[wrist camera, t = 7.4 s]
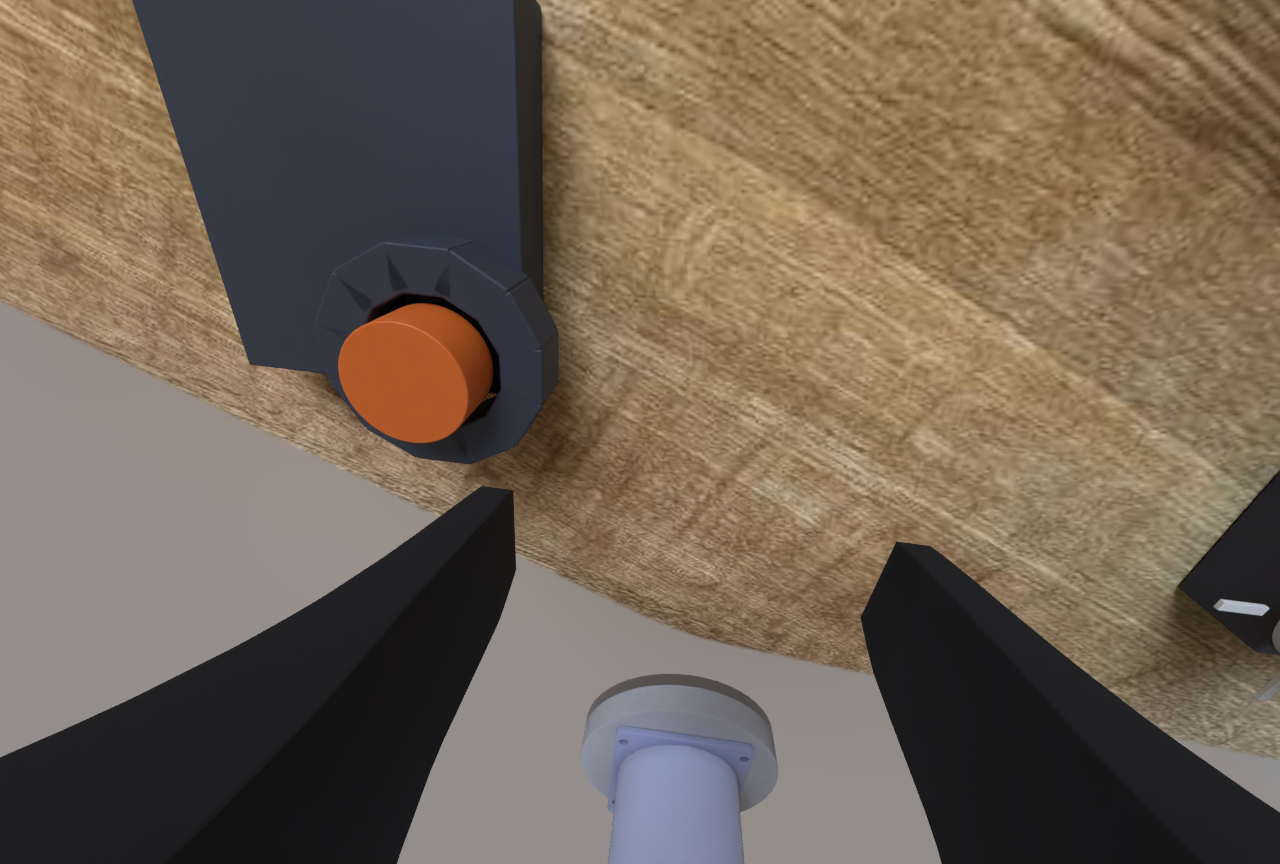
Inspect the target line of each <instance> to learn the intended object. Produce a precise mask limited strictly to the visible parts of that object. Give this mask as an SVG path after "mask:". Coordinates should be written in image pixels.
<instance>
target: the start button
mask: <svg viewBox="0 0 1280 864" xmlns="http://www.w3.org/2000/svg"><path fill="white" fill-rule="evenodd" d="M338 370H339V377H340V381H341V384H342V387H343V390H344V392H345V394H346V396H347V398H348V400H349V401H350V403H351V404H352V406H353V407H354V409H355V410H356V411H357V412H358V413H359V414H360V415H361V416H362V417H363V418H364V419H365V420H366V421H367V422H368V423H369V424H371V425H372V426H373V427H375V428H376V429H378V430H379V431H381V432H383V433H384V434H386V435H388V436H391V437H393V438H396V439H399V440H402V441H406V442H411V443H430V442H435V441H438V440H442V439H444V438H446V437H448V436H450V435H451V434H452V433H454V432H455V431H456V430H457V429H458V428H459V427H460V426H461V425H462V424H463V422H464V421H465V420H466V419H467V418H468V417H469V416H470V415H471V414H472V412H473V411H474V410H475V409H476V408H477V407H478V406H479V405H480V404H481V402H482V401H483V400H484V399H485V398H486V396H487V395H488V393H489V391H490V388H491V385H492V381H493V363H492V358H491V355H490V352H489V349H488V347H487V345H486V343H485V341H484V339H483V338H482V336H481V335H480V334H479V332H478V331H477V330H476V329H475V328H474V327H473V326H472V325H471V324H470V323H469V322H468V321H467V320H466V319H464V318H463V317H462V316H460V315H459V314H457V313H455V312H454V311H452V310H449V309H447V308H445V307H442V306H438V305H434V304H429V303H416V304H410V305H406V306H404V307H401V308H399V309H397V310H395V311H392V312H390V313H388V314H386V315H384V316H382V317H379V318H377V319H375V320H373V321H371V322H369V323H367V324H364V325H362V326H360V327H359V328H357V329H356V330H354V331H353V332H352V333H351V334H350V335H349V336H348V338H347V339H346V340H345V342H344V344H343V346H342V348H341V351H340V355H339V362H338Z"/></svg>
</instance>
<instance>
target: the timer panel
mask: <svg viewBox="0 0 1280 864" xmlns="http://www.w3.org/2000/svg"><path fill="white" fill-rule="evenodd" d="M1179 588H1180V589H1181V590H1182V591H1184V592H1185V593H1186V594H1187V595H1188V596H1190V597H1191V598H1192V599H1193V600H1194V601H1196V602H1197V603H1198V604H1199V605H1200V606H1201V607H1203V608H1204V609H1205V610H1206V611H1207V612H1209V613H1210V614H1211V615H1212V616H1213V617H1215V618H1216V619H1217V620H1218V621H1219V622H1221V623H1222V624H1223V625H1224V626H1225V627H1227V628H1228V629H1229V630H1230V631H1231V632H1233V633H1234V634H1235V635H1236V636H1237V637H1238V638H1240V639H1241V640H1242V641H1243V642H1244V643H1246V644H1247V645H1248V646H1249V647H1250V648H1252V649H1253V650H1254V651H1256V652H1258V653H1265V654H1273V655H1280V653H1279V652H1278V651H1277V650H1276V648H1275V646H1274V644H1273V641H1272V634H1273V631H1274V628H1275V627H1276V625H1277V623H1278V622H1279V620H1280V473H1279V474H1278V475H1277V476H1276V477H1275V478H1274V479H1273V481H1272V482H1271V483H1270V484H1269V485H1268V486H1267V487H1266V489H1265V490H1264V491H1263V492H1262V493H1261V494H1260V495H1259V496H1258V498H1257V499H1256V500H1255V501H1254V502H1253V503H1252V504H1251V506H1250V507H1249V508H1248V509H1247V510H1246V511H1245V512H1244V513H1243V515H1242V516H1241V517H1240V518H1239V519H1238V520H1237V521H1236V523H1235V524H1234V525H1233V526H1232V527H1231V528H1230V529H1229V530H1228V532H1227V533H1226V534H1225V535H1224V536H1223V537H1222V538H1221V540H1220V541H1219V542H1218V543H1217V544H1216V545H1215V546H1214V547H1213V549H1212V550H1211V551H1210V552H1209V553H1208V554H1207V555H1206V557H1205V558H1204V559H1203V560H1202V561H1201V562H1200V563H1199V564H1198V566H1197V567H1196V568H1195V569H1194V570H1193V571H1192V572H1191V574H1190V575H1189V576H1188V577H1187V578H1186V579H1185V580H1184V581H1183V583H1182V584H1181V585H1180V586H1179ZM1279 691H1280V673H1279V674H1278V675H1276V676H1275V677H1274V678H1273V679H1272V680H1271V681H1269V682H1268V683H1267V684H1266V685H1265V686H1264V687H1262V688H1261V689H1260V690H1259V691H1258V692H1257V693H1255V694H1254V695H1253V697H1254V698H1255V699H1256V700H1261V701H1268V700H1269V699H1270V698H1271V697H1273V696H1274V695H1275V694H1276V693H1277V692H1279Z"/></svg>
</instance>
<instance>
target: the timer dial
mask: <svg viewBox="0 0 1280 864" xmlns="http://www.w3.org/2000/svg"><path fill="white" fill-rule="evenodd" d="M1272 641H1273V644H1274V646H1275V648H1276V650H1277V651H1278V652H1279V653H1280V620H1279V622H1278V623H1277V625H1276V627H1275V628H1274V631H1273V634H1272Z"/></svg>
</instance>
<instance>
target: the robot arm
mask: <svg viewBox="0 0 1280 864" xmlns="http://www.w3.org/2000/svg"><path fill="white" fill-rule="evenodd" d="M515 571H516V557H515V529H514V501H513V490H507V489H499V488H492V487H484V486H481V487H480V488H478V489H477V490H476V491H474V492H473V493H471V494H470V495H469V496H467V497H466V498H464V499H463V500H462V501H460V502H459V503H458V504H456V505H455V506H454V507H452V508H451V509H450V510H448V511H447V512H446V513H444V514H443V515H442V516H440V517H439V518H438V519H436V520H435V521H433V522H432V523H431V524H429V525H428V526H427V527H425V528H424V529H423V530H421V531H420V532H419V533H417V534H416V535H414V536H413V537H412V538H410V539H409V540H407V541H406V542H404V543H403V544H402V545H400V546H399V547H398V548H396V549H395V550H393V551H392V552H390V553H389V554H388V555H386V556H385V557H383V558H382V559H380V560H379V561H377V562H376V563H374V564H373V565H371V566H370V567H368V568H367V569H365V570H363V571H362V572H360V573H359V574H357V575H356V576H354V577H353V578H351V579H350V580H348V581H347V582H345V583H344V584H342V585H341V586H339V587H338V588H336V589H334V590H333V591H332V592H330V593H328V594H327V595H325V596H323V597H322V598H321V599H318V600H317V601H316V602H314V603H312V604H310V605H309V606H307V607H305V608H303V609H302V610H300V611H298V612H297V613H295V614H293V615H292V616H290V617H288V618H286V619H285V620H283V621H281V622H279V623H277V624H276V625H274V626H272V627H270V628H269V629H267V630H265V631H263V632H261V633H260V634H258V635H256V636H254V637H252V638H251V639H249V640H247V641H245V642H243V643H241V644H239V645H238V646H236V647H234V648H232V649H230V650H228V651H226V652H224V653H222V654H220V655H218V656H216V657H214V658H212V659H210V660H208V661H206V662H204V663H202V664H200V665H198V666H196V667H194V668H192V669H191V670H188V671H186V672H184V673H182V674H180V675H178V676H176V677H174V678H172V679H170V680H168V681H166V682H164V683H163V684H160V685H158V686H156V687H154V688H152V689H150V690H148V691H146V692H144V693H142V694H140V695H138V696H136V697H134V698H132V699H130V700H128V701H126V702H124V703H121V704H119V705H117V706H115V707H113V708H110V709H108V710H106V711H104V712H102V713H99V714H97V715H95V716H93V717H91V718H89V719H86V720H84V721H82V722H80V723H78V724H75V725H73V726H71V727H69V728H67V729H64V730H63V731H60V732H58V733H55V734H53V735H51V736H48V737H46V738H44V739H41V740H39V741H37V742H35V743H32V744H30V745H28V746H25V747H23V748H21V749H19V750H16V751H14V752H12V753H9V754H7V755H5V756H3V757H1V758H0V864H397V861H398V858H399V855H400V852H401V850H402V847H403V844H404V841H405V838H406V836H407V833H408V830H409V828H410V825H411V822H412V819H413V817H414V814H415V811H416V809H417V806H418V803H419V800H420V797H421V795H422V792H423V790H424V787H425V784H426V781H427V779H428V776H429V773H430V770H431V768H432V766H433V763H434V761H435V759H436V756H437V754H438V752H439V749H440V747H441V744H442V742H443V740H444V738H445V736H446V734H447V731H448V729H449V727H450V725H451V723H452V721H453V719H454V717H455V714H456V712H457V710H458V708H459V706H460V704H461V702H462V699H463V697H464V695H465V693H466V691H467V689H468V687H469V685H470V682H471V680H472V678H473V676H474V674H475V672H476V670H477V667H478V665H479V663H480V661H481V659H482V656H483V654H484V652H485V650H486V648H487V646H488V644H489V641H490V639H491V637H492V635H493V633H494V631H495V628H496V626H497V624H498V622H499V620H500V616H501V614H502V611H503V608H504V605H505V602H506V599H507V596H508V593H509V590H510V587H511V584H512V580H513V577H514V575H515ZM861 621H862V626H863V631H864V635H865V640H866V645H867V649H868V653H869V657H870V661H871V665H872V669H873V673H874V675H875V678H876V681H877V684H878V687H879V689H880V692H881V695H882V697H883V700H884V703H885V706H886V709H887V711H888V714H889V717H890V719H891V722H892V725H893V727H894V730H895V733H896V735H897V738H898V741H899V743H900V746H901V749H902V751H903V754H904V757H905V759H906V762H907V764H908V767H909V769H910V772H911V775H912V778H913V780H914V783H915V785H916V788H917V791H918V794H919V796H920V799H921V801H922V804H923V807H924V809H925V812H926V815H927V818H928V821H929V824H930V827H931V830H932V833H933V836H934V839H935V842H936V845H937V848H938V851H939V855H940V859H941V862H942V864H1280V813H1279V812H1278V811H1276V810H1275V809H1274V808H1272V807H1271V806H1269V805H1268V804H1266V803H1264V802H1263V801H1261V800H1260V799H1259V798H1257V797H1256V796H1254V795H1253V794H1251V793H1250V792H1248V791H1247V790H1245V789H1244V788H1242V787H1241V786H1240V785H1238V784H1237V783H1235V782H1234V781H1233V780H1231V779H1230V778H1228V777H1227V776H1225V775H1224V774H1223V773H1221V772H1220V771H1218V770H1217V769H1215V768H1214V767H1213V766H1211V765H1210V764H1208V763H1207V762H1206V761H1204V760H1203V759H1201V758H1200V757H1198V756H1197V755H1195V754H1194V753H1193V752H1191V751H1190V750H1188V749H1187V748H1186V747H1184V746H1183V745H1181V744H1180V743H1178V742H1177V741H1176V740H1174V739H1173V738H1172V737H1170V736H1169V735H1167V734H1166V733H1165V732H1163V731H1162V730H1161V729H1159V728H1158V727H1157V726H1155V725H1154V724H1152V723H1151V722H1150V721H1148V720H1147V719H1146V718H1144V717H1143V716H1142V715H1140V714H1139V713H1138V712H1136V711H1135V710H1134V709H1133V708H1131V707H1130V706H1129V705H1127V704H1126V703H1125V702H1123V701H1122V700H1121V699H1120V698H1118V697H1117V696H1116V695H1114V694H1113V693H1112V692H1110V691H1109V690H1108V689H1107V688H1105V687H1104V686H1103V685H1101V684H1100V683H1099V682H1097V681H1096V680H1095V679H1094V678H1092V677H1091V676H1090V675H1088V674H1087V673H1086V672H1085V671H1083V670H1082V669H1081V668H1080V667H1078V666H1077V665H1076V664H1075V663H1073V662H1072V661H1071V660H1070V659H1068V658H1067V657H1066V656H1065V655H1063V654H1062V653H1061V652H1060V651H1058V650H1057V649H1056V648H1055V647H1053V646H1052V645H1051V644H1050V643H1049V642H1047V641H1046V640H1045V639H1044V638H1042V637H1041V636H1040V635H1039V634H1038V633H1036V632H1035V631H1034V630H1033V629H1031V628H1030V627H1029V626H1028V625H1027V624H1025V623H1024V622H1023V621H1022V620H1021V619H1019V618H1018V617H1017V616H1016V615H1015V614H1013V613H1012V612H1011V611H1010V610H1009V609H1007V608H1006V607H1005V606H1004V605H1003V604H1001V603H1000V602H999V601H998V600H997V599H995V598H994V597H993V596H992V595H991V594H990V593H988V592H987V591H986V590H985V589H984V588H982V587H981V586H980V585H979V584H978V583H976V582H975V581H974V580H973V579H971V578H970V577H969V576H968V575H967V574H965V573H964V572H963V571H962V570H961V569H959V568H958V567H957V566H956V565H954V564H953V563H952V562H951V561H949V560H948V559H947V558H945V557H944V556H943V555H942V554H940V553H939V552H937V551H936V550H935V549H933V548H932V547H931V546H926V545H918V544H911V543H903V542H896V544H895V546H894V548H893V550H892V552H891V555H890V557H889V559H888V561H887V563H886V565H885V567H884V569H883V571H882V574H881V576H880V578H879V580H878V582H877V584H876V586H875V588H874V591H873V593H872V595H871V597H870V599H869V601H868V603H867V605H866V607H865V610H864V612H863V614H862V616H861ZM754 755H755V752H754V747H753V746H752V745H751V744H749V743H743V742H736V741H729V740H722V739H715V738H708V737H701V736H694V735H687V734H679V733H672V732H665V731H658V730H651V729H644V728H637V727H630V726H620V727H619V728H617V730H616V738H615V747H614V756H613V764H612V773H611V782H610V790H609V799H608V810H609V811H610V812H611V813H613V822H612V831H611V840H610V848H609V857H608V864H744V855H743V843H742V831H741V819H740V807H739V795H740V793H741V790H742V787H743V785H744V782H745V779H746V777H747V774H748V771H749V768H750V766H751V763H752V760H753V758H754Z"/></svg>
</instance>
